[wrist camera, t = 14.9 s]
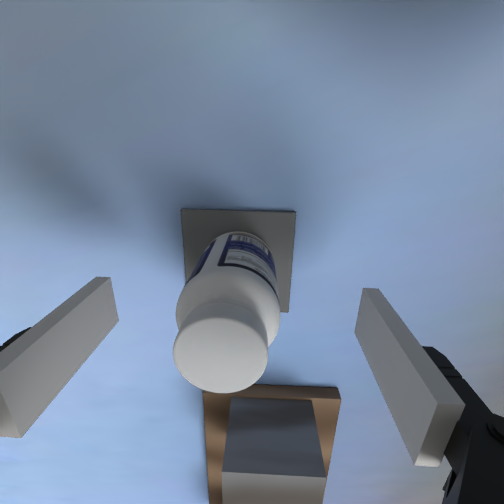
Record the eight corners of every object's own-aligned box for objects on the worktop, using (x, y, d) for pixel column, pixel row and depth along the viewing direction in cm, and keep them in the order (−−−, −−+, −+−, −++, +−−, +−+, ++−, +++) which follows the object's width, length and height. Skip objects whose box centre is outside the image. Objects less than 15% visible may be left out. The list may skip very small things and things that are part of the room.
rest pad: (182, 208, 20) (180, 209, 19) (295, 211, 19) (296, 212, 19) (189, 306, 22) (188, 308, 22) (288, 309, 22) (288, 312, 22)
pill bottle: (221, 305, 22) (191, 419, 13) (190, 246, 20) (128, 328, 11) (286, 282, 21) (303, 387, 12) (258, 218, 19) (253, 282, 10)
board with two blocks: (205, 381, 25) (184, 467, 18) (337, 388, 25) (365, 477, 18) (212, 501, 32) (198, 597, 25) (317, 508, 31) (331, 606, 25)
